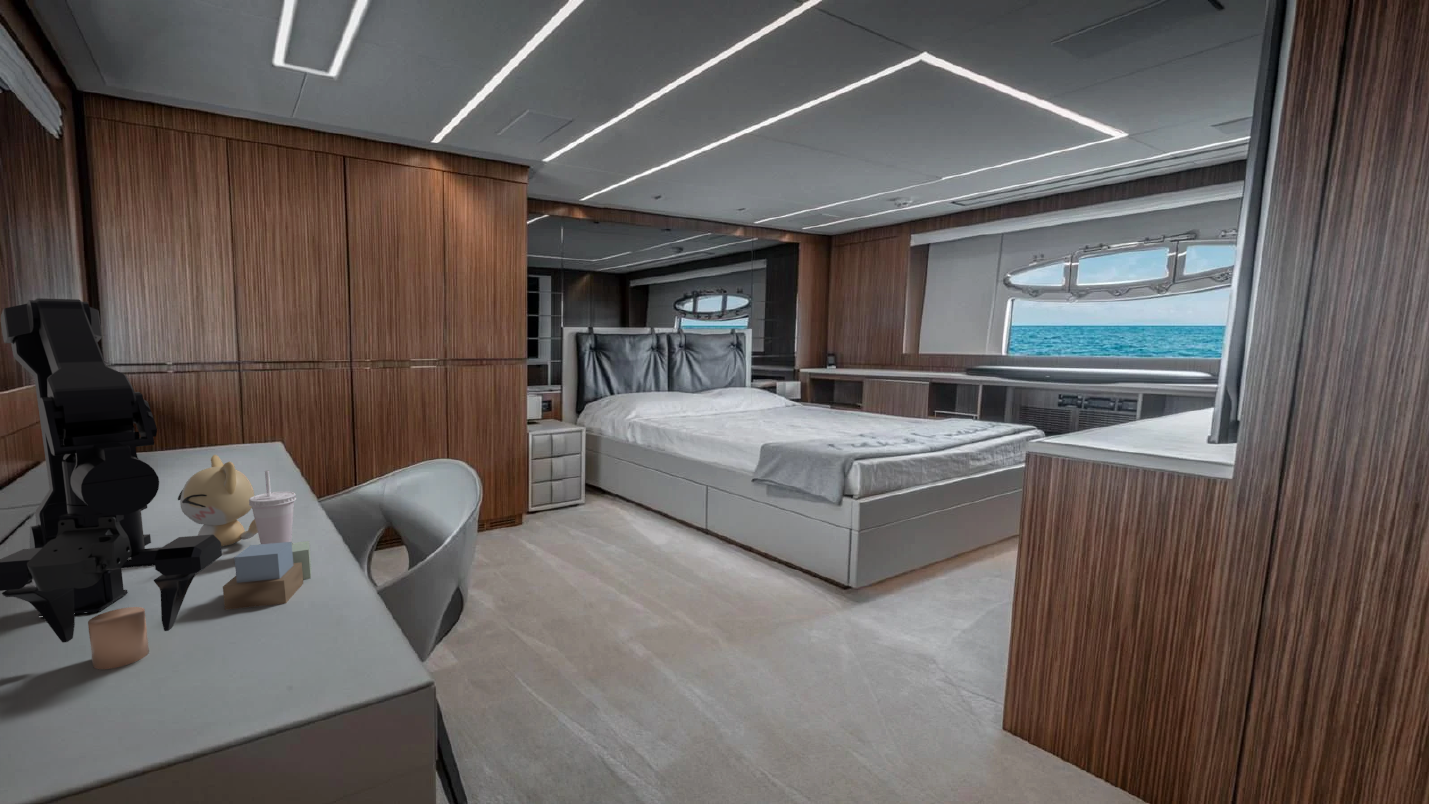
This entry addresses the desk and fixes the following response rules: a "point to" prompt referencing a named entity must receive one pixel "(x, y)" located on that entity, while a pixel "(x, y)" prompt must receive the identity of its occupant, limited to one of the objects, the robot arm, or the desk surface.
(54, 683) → the desk surface
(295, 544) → the block
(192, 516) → the kitten
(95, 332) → the robot arm
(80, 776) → the desk surface
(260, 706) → the desk surface
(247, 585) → the tower base
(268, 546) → the tower mid
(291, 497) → the smoothie
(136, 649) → the clay cylinder
